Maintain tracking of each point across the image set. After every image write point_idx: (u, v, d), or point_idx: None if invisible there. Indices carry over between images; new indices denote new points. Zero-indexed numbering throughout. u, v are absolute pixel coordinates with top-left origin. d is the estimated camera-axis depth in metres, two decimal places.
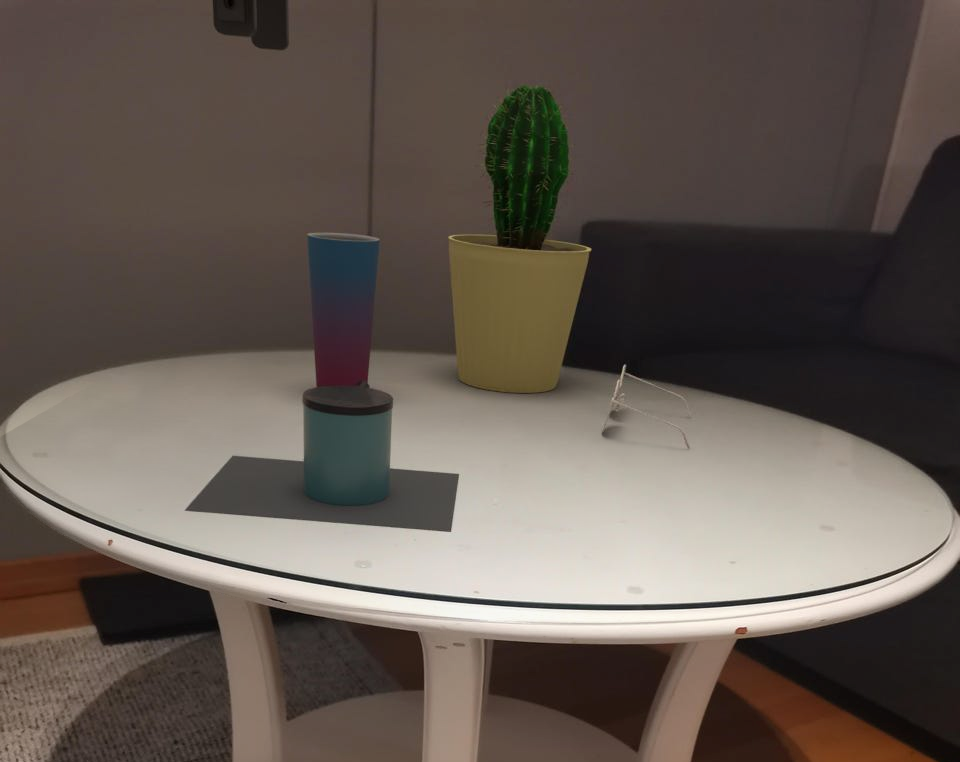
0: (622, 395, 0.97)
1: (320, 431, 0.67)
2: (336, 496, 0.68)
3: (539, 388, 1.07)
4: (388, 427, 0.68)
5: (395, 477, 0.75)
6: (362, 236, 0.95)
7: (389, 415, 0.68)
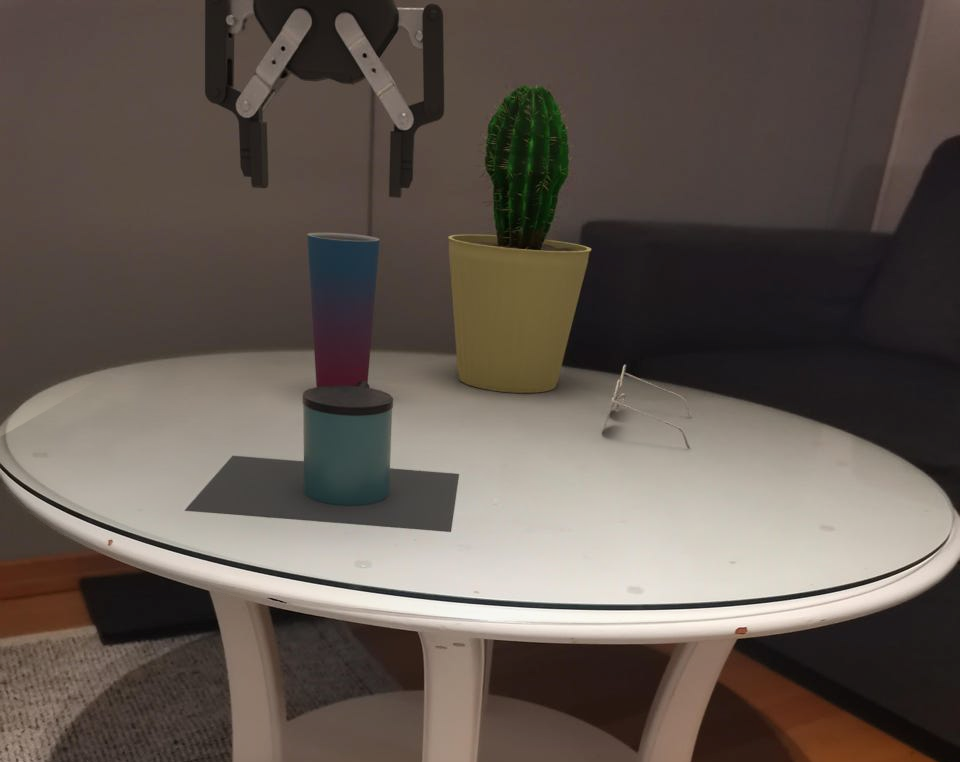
0: (622, 395, 0.97)
1: (320, 431, 0.67)
2: (336, 496, 0.68)
3: (539, 388, 1.07)
4: (388, 427, 0.68)
5: (395, 477, 0.75)
6: (362, 236, 0.95)
7: (389, 415, 0.68)
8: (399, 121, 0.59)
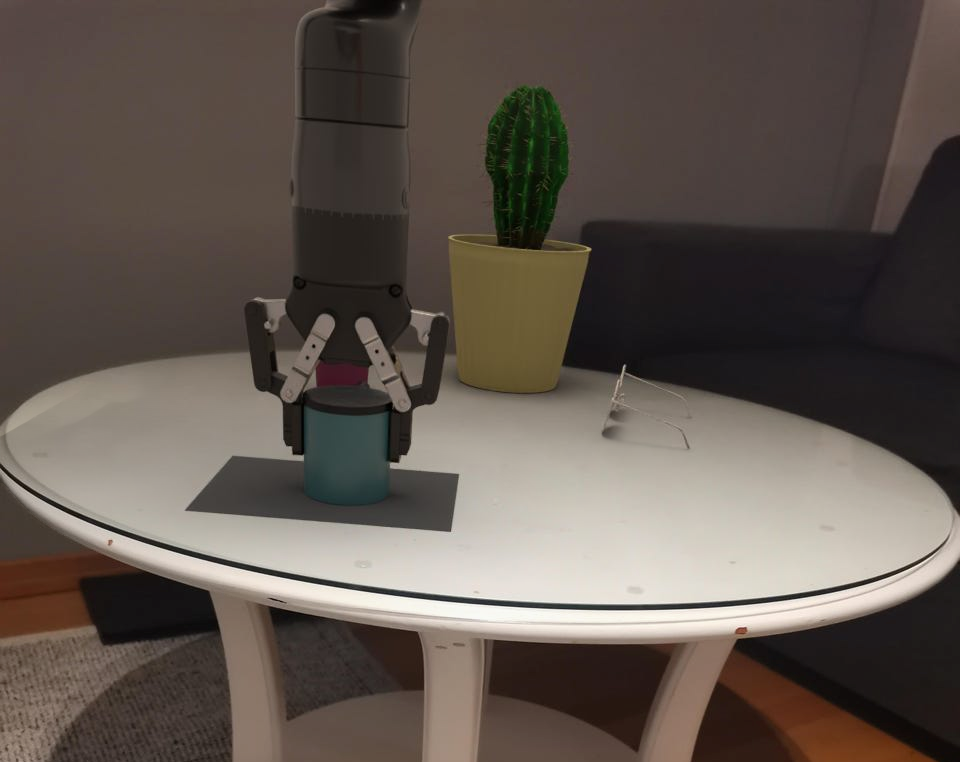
0: (622, 395, 0.97)
1: (321, 431, 0.67)
2: (336, 496, 0.68)
3: (539, 388, 1.07)
4: (388, 427, 0.68)
5: (395, 477, 0.75)
6: None
7: (389, 415, 0.68)
8: (398, 404, 0.67)
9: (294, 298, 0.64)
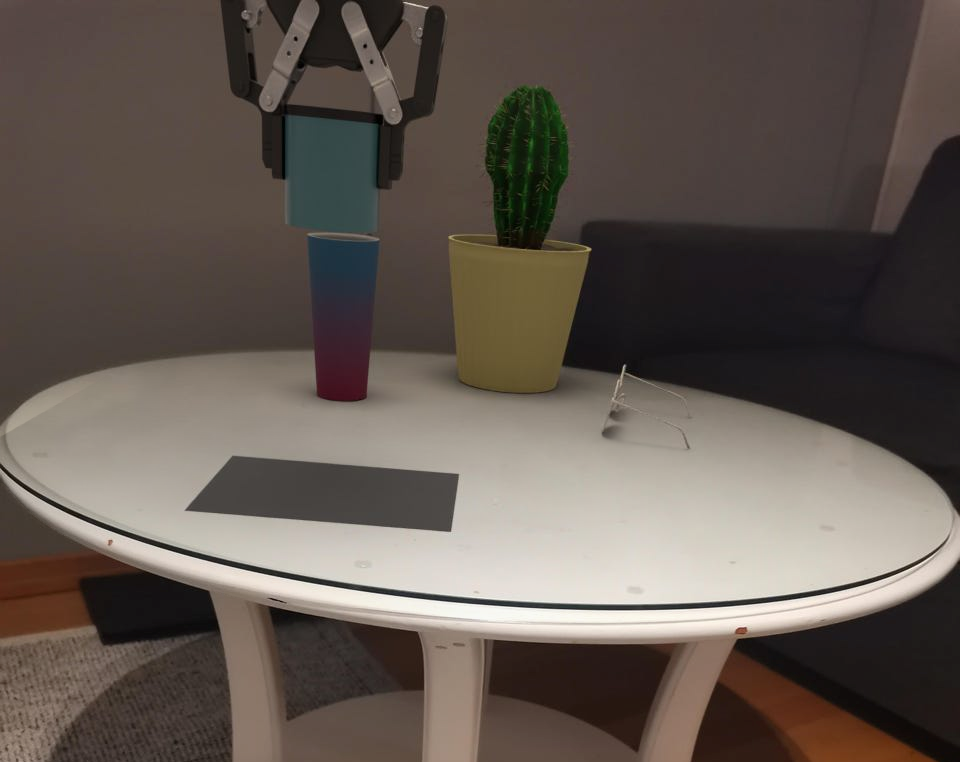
0: (622, 395, 0.97)
1: (303, 141, 0.61)
2: (319, 220, 0.62)
3: (539, 388, 1.07)
4: (378, 145, 0.62)
5: (395, 477, 0.75)
6: (362, 236, 0.95)
7: (379, 130, 0.62)
8: (388, 115, 0.61)
9: None
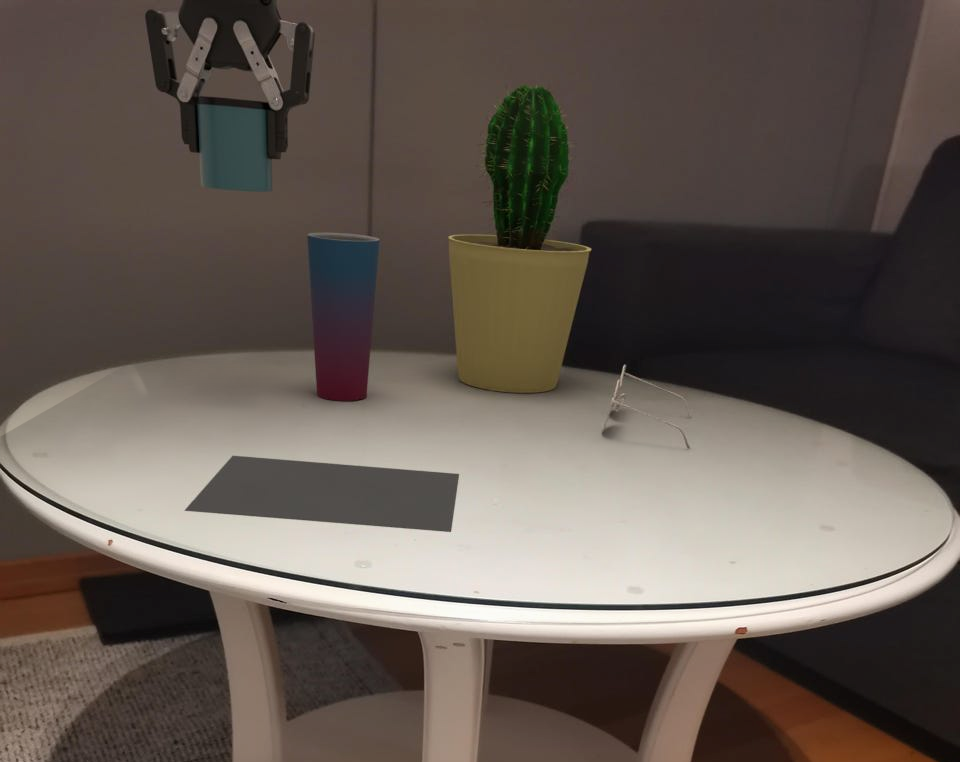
0: (622, 395, 0.97)
1: (209, 122, 0.82)
2: (224, 181, 0.84)
3: (539, 388, 1.07)
4: (266, 125, 0.84)
5: (395, 477, 0.75)
6: (362, 236, 0.95)
7: None
8: (272, 103, 0.83)
9: (185, 7, 0.80)
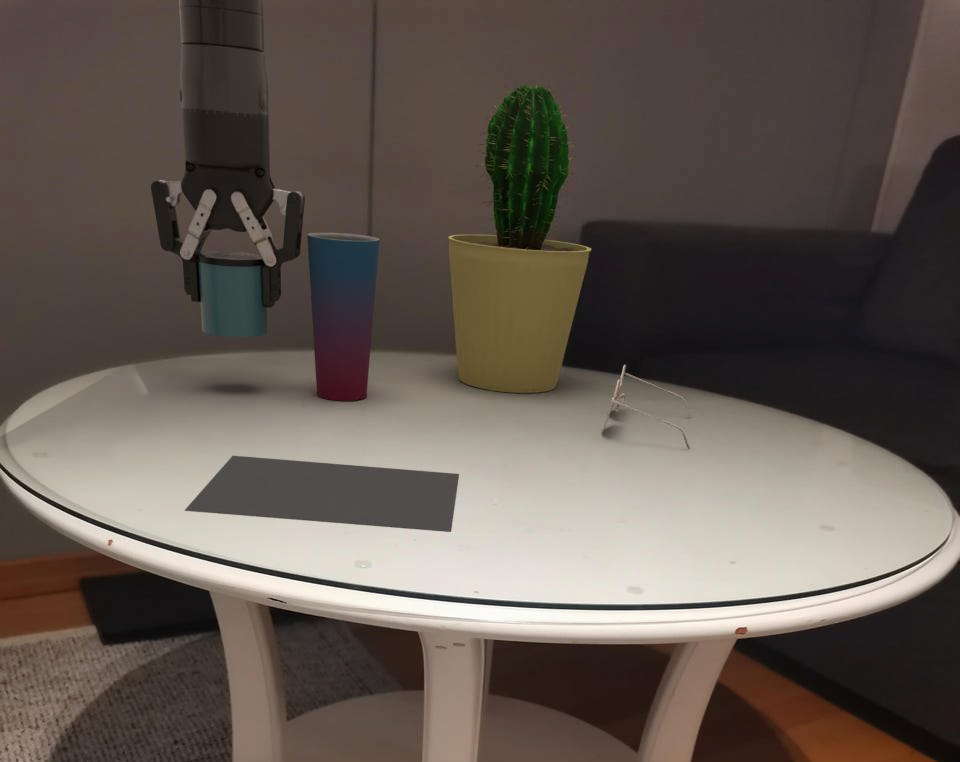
0: (622, 395, 0.97)
1: (209, 279, 0.91)
2: (223, 330, 0.93)
3: (539, 388, 1.07)
4: (261, 279, 0.92)
5: (395, 477, 0.75)
6: (362, 236, 0.95)
7: None
8: (266, 260, 0.91)
9: (187, 178, 0.88)
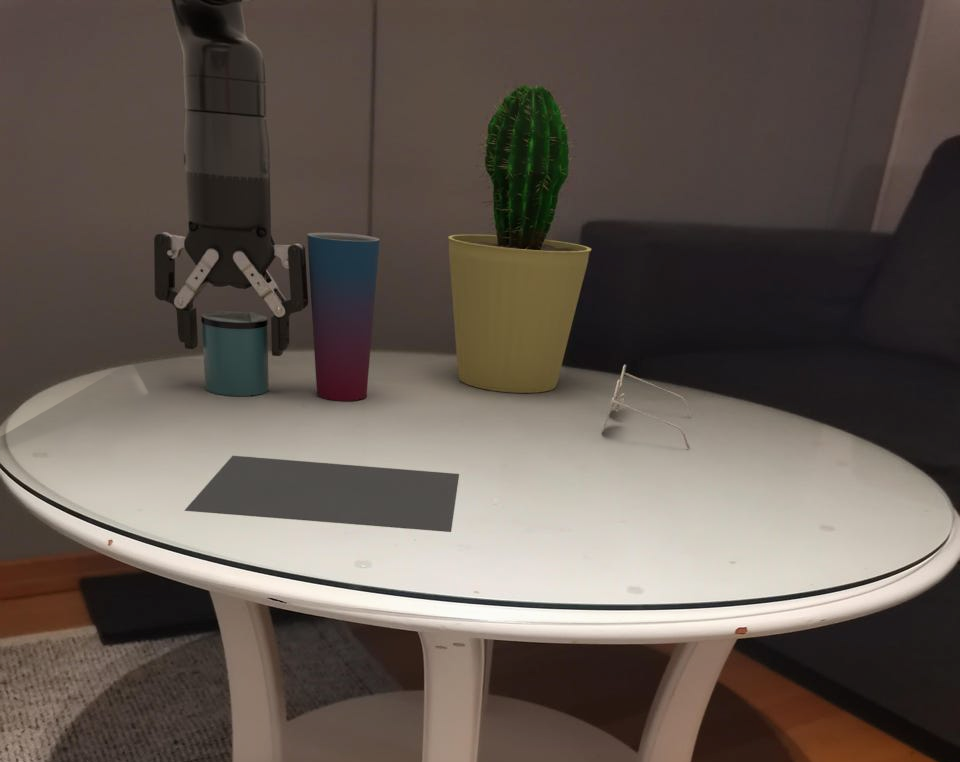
0: (622, 395, 0.97)
1: (213, 341, 0.93)
2: (226, 389, 0.95)
3: (539, 388, 1.07)
4: (263, 339, 0.95)
5: (395, 477, 0.75)
6: (362, 236, 0.95)
7: (264, 330, 0.95)
8: (276, 312, 0.93)
9: (191, 237, 0.91)
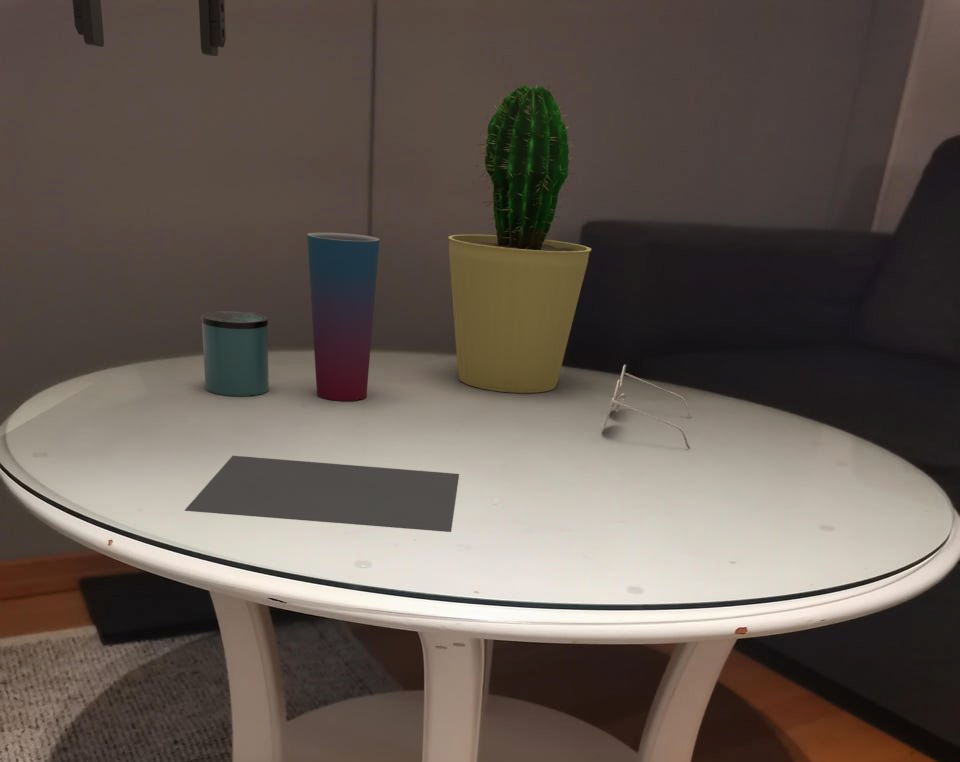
0: (622, 395, 0.97)
1: (213, 341, 0.93)
2: (226, 389, 0.95)
3: (539, 388, 1.07)
4: (263, 339, 0.95)
5: (395, 477, 0.75)
6: (362, 236, 0.95)
7: (264, 330, 0.95)
8: None
9: None
